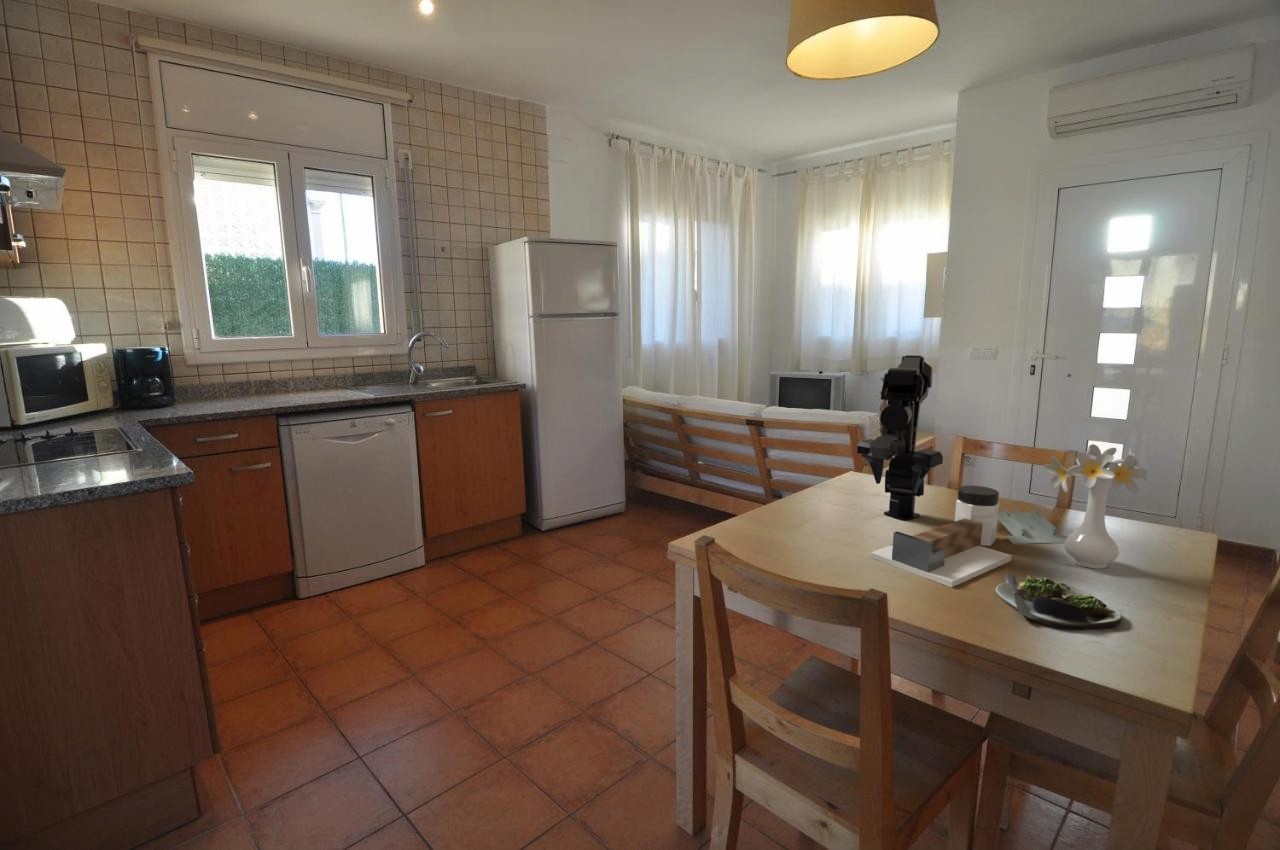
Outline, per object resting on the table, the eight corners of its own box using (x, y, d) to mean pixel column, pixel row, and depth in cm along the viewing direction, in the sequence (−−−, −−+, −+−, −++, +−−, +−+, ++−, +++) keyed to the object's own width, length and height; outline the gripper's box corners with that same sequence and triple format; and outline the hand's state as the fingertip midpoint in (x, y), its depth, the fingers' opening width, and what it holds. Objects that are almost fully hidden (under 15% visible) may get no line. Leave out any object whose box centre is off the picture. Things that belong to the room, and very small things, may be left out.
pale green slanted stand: (985, 504, 149) (1046, 504, 149) (979, 524, 152) (1039, 523, 152) (1017, 540, 136) (1084, 540, 136) (1011, 561, 139) (1076, 560, 139)
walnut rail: (962, 539, 138) (964, 518, 137) (980, 544, 135) (982, 523, 134) (904, 560, 126) (906, 537, 126) (922, 567, 123) (924, 543, 122)
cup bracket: (908, 553, 130) (910, 527, 129) (944, 565, 124) (946, 538, 123) (891, 559, 127) (893, 532, 126) (927, 572, 120) (929, 544, 119)
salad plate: (966, 584, 119) (968, 561, 118) (1054, 581, 120) (1056, 559, 119) (1035, 634, 100) (1038, 608, 99) (1138, 630, 101) (1142, 604, 100)
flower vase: (1024, 555, 131) (1036, 443, 127) (1097, 549, 134) (1111, 439, 130) (1076, 581, 119) (1091, 456, 114) (1156, 573, 122) (1173, 452, 117)
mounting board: (931, 536, 144) (931, 531, 143) (1011, 560, 129) (1011, 555, 129) (870, 557, 131) (870, 552, 131) (951, 587, 116) (951, 581, 116)
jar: (945, 535, 144) (949, 486, 142) (972, 531, 147) (976, 483, 144) (975, 548, 136) (980, 497, 134) (1004, 544, 138) (1009, 493, 136)
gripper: (843, 421, 143) (840, 485, 146) (919, 434, 128) (914, 504, 131) (871, 416, 149) (868, 477, 152) (946, 427, 134) (941, 494, 137)
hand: (895, 487), depth 143 cm, fingers open, 9 cm apart
